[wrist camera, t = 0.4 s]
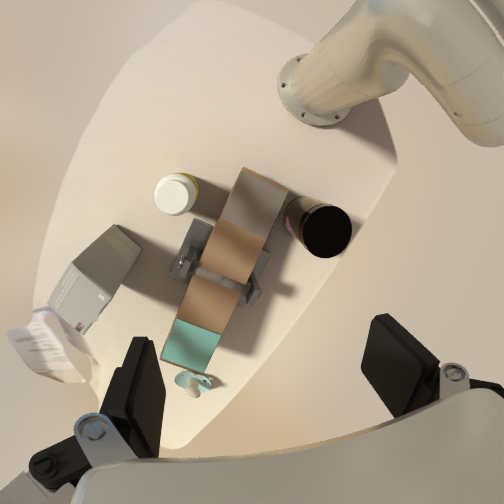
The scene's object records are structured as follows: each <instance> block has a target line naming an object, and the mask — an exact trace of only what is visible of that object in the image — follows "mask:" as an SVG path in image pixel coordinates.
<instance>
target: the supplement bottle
mask: <svg viewBox="0 0 504 504" xmlns="http://www.w3.org/2000/svg"><path fill="white" fill-rule="evenodd" d="M198 193H199V188H198V184H197V181H196V180H195V179H194V178H193V177H192V176H191V175H189V174H186V173H175V174H170V175H167V176H165V177H164V178H163V179H161V180H160V182H159V183H158V184H157V186H156V189H155V201H156V204H157V206H158V207H159V209H160V210H161V211H163V212H164V213H166V214H168V215H172V216H178V215H182V214H184V213H186V212H188V211H189V210H190V209H191V208H192V206H193V205H194V203H195V201H196V199H197V197H198Z"/></svg>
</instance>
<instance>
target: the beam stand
mask: <svg viewBox="0 0 504 504" xmlns="http://www.w3.org/2000/svg"><path fill="white" fill-rule="evenodd" d="M213 229H214V227H213V226H211V225H209V224H206V223H204V222H202V221H200V220H198V219H195V218H194V219H193V222H192V224H191V226H190V228H189V230H188V233H187V235H186V237H185V239H184V242H183V244H182V246H181V249H180V251H179V253H178V256H177V258H176V260H175V263H174V265H173V268H172V270H171V272H170V275H169V277H171V278H173V279H176V280H178V281H180V282H183V283H185V284H188V285H189V283H190V281H191V278H192V276H193V275H192V274H190V273H188V271H189V269H190V266H191V264H192V262H193V260H194V259H195V260H197V261H199V260H200V258H201V256H202V253H203V251H204V249H205V247H206V244H207V242H208V240H209V238H210V235H211V233H212V231H213ZM270 255H271V254H270V252H268V251H266V250H264V249H262V250H261V253H260V255H259V257H258V259H257V261H256V263H255V266H254V268H253V270H252V272H251V274H250V276H249V278H248V280H247V282H249V283H251V288H250V291H249V293H248V294H247V296H243V295H240V298H239V300H238V302H237V305H240V306H242V307H243V305H244V303H245V301H247V304H249V305H251V306H253V304H254V302H255V301H256V300H257V299H258V298H259V296H260V294H261V288H259V286H258V283H257V279H258V277H259V275H260V274H261V272H262V270H263V268H264V266H265V264H266V262H267V261H268V259H269V257H270Z"/></svg>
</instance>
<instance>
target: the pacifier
mask: <svg viewBox="0 0 504 504" xmlns="http://www.w3.org/2000/svg"><path fill="white" fill-rule="evenodd" d="M182 374H184V375H182ZM203 380H206V381H207V382H204V381H203ZM175 383H176V384H177V385H179V386H180V387H182V388H184V389H185V392H186V393H187V394H188V395H189V396H191V397H194V398H198V397H200V392H207V391H209V390H210V389H211V382H210V380H209V379H208V378H207V377H206V376H204V375H199V374H195V373H193V372H191V371H182V372H180V373H179V374H177V375H176V377H175Z"/></svg>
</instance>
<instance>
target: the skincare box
mask: <svg viewBox="0 0 504 504" xmlns="http://www.w3.org/2000/svg"><path fill="white" fill-rule="evenodd" d="M141 250H142V249H141V248H140V247H139V246H138V245H136V244H135V243H134V242H133V241H132V240H131V239H130V238H129V237H128V236H126V235H125V234H124V233H123V232H122V231H121V230H120V229H119V228H118V227H117V226H116V225H115V224H113V225H112V226H111V227H110V228H109V229H108V230H107V231H105V232H104V233H103V234H102V235H101V236H100V237H99V238H98V239H96V240H95V241H94V242H93V243H92V244H91V245H90V246H89V247H87V248H86V249H85V250H84V251H83V252H82V253H81V254H80V255H79V256H78V257H77V258H76V259H74V260H73V261H72V262H71V263H70V265H69V266H68V268H67V269H66V271H65V272H64V274H63V276H62V277H61V279H60V280H59V282H58V284H57V286H56V287H55V289H54V291H53V293H52V295H51V296H50V298H49V300H48V303H47V304H48V305H49V306H50V307H51V308H52V309H53V310H54V311H55V312H56V313H58V314H59V315H60V316H61V317H62V318H63V319H64V320H66V321H67V322H68V323H69V324H70V325H71V326H73V327H74V328H75V329H76V330H77V331H79V332H80V333H81V334H82V335H84V334H85V333H86V332H87V330H88V329H89V328H90V326H91V325H92V324H93V322H95V321H97V320H98V318H99V315H100V313H101V312H102V311H103V310H104V308H105V307H106V306H107V305H108V303H109V302H110V301H111V300H112V298H113V296H114V295H115V293H116V291H117V290H118V288H119V286H120V285H121V283H122V281H123V280H124V278H125V276H126V275H127V273H128V271H129V270H130V268H131V266H132V265H133V263H134V262H135V260H136V258H137V257H138V255H139V254H140V252H141Z"/></svg>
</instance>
